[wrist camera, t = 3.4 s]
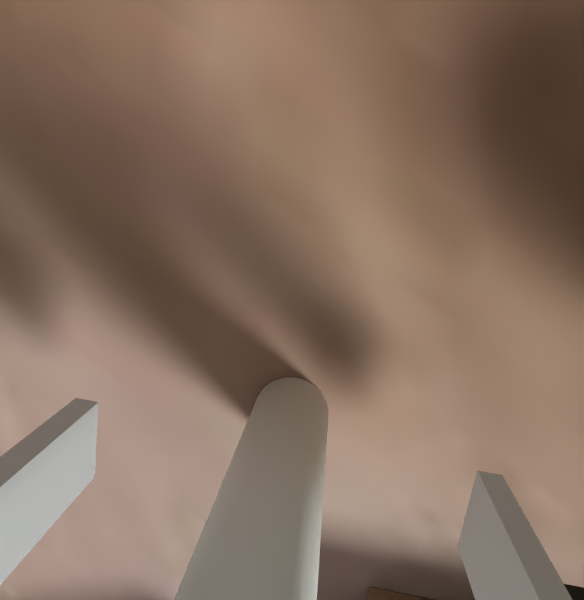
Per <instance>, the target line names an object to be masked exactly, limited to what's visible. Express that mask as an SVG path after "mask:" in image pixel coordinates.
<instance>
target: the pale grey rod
mask: <svg viewBox="0 0 584 600" xmlns="http://www.w3.org/2000/svg"><path fill="white" fill-rule="evenodd" d="M327 429H328V406H327V402H326V400H325V398H324V396H323V394H322V393H321V392H320V391H319V389H318V388H316V387H315V386H314V385H313V384H311V383H310V382H308V381H306V380H303V379H299V378H293V377H286V378H280V379H277V380H275V381H272V382H271V383H269V384H268V385H266V386H265V387H264V388H263V389H262V391H261V392H260V393H259V395H258V397H257V400H256V402H255V404H254V407H253V409H252V412H251V414H250V417H249V419H248V421H247V424H246V426H245V429H244V431H243V434H242V436H241V438H240V441H239V443H238V446H237V448H236V451H235V453H234V455H233V458H232V460H231V463H230V465H229V468H228V470H227V472H226V475H225V477H224V480H223V482H222V485H221V487H220V489H219V492H218V494H217V497H216V499H215V502H214V504H213V506H212V509H211V511H210V514H209V516H208V519H207V521H206V523H205V526H204V528H203V531H202V533H201V536H200V538H199V541H198V543H197V545H196V548H195V550H194V553H193V555H192V558H191V560H190V562H189V565H188V567H187V570H186V572H185V575H184V577H183V579H182V582H181V584H180V587H179V589H178V592H177V594H176V596H175V599H174V600H317V589H318V573H319V557H320V541H321V525H322V509H323V493H324V477H325V461H326V445H327Z"/></svg>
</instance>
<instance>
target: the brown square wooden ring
mask: <svg viewBox="0 0 584 600" xmlns="http://www.w3.org/2000/svg"><path fill="white" fill-rule="evenodd" d="M366 600H432V599H427V598H422V597H417V596H412V595H406V594H401V593H396V592H391V591H386V590H381V589H376V588H371V587H369V590H368V594H367V599H366Z"/></svg>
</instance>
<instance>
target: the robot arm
mask: <svg viewBox="0 0 584 600" xmlns="http://www.w3.org/2000/svg"><path fill="white" fill-rule="evenodd" d="M97 421H98V402H95V401H90V400H84V399H79V398H75V399H74V400H73V401H72V402H70V403H69V404H68V405H66V406H65V407H64V408H63V409H61V410H60V411H59V412H57V413H56V414H55V415H54V416H52V417H51V418H50V419H48V420H47V421H46V422H45V423H43V424H42V425H41V426H39V427H38V428H37V429H36V430H34V431H33V432H32V433H30V434H29V435H28V436H27V437H25V438H24V439H23V440H21V441H20V442H19V443H18V444H16V445H15V446H14V447H12V448H11V449H10V450H9V451H7V452H6V453H5V454H3V455H2V456H1V457H0V585H1V584H2V583H3V581H4V580H5V579H6V578H7V577H8V576H9V575H10V573H11V572H12V571H13V570H14V569H15V568H16V566H17V565H18V564H19V563H20V562H21V561H22V560H23V558H24V557H25V556H26V555H27V554H28V553H29V551H30V550H31V549H32V548H33V547H34V546H35V545H36V543H37V542H38V541H39V540H40V539H41V538H42V537H43V535H44V534H45V533H46V532H47V531H48V530H49V528H50V527H51V526H52V525H53V524H54V523H55V522H56V520H57V519H58V518H59V517H60V516H61V515H62V513H63V512H64V511H65V510H66V509H67V508H68V507H69V505H70V504H71V503H72V502H73V501H74V500H75V499H76V497H77V496H78V495H79V494H80V493H81V492H82V490H83V489H84V488H85V487H86V486H87V485H88V484H89V482H90V481H91V480H92V479H93V478H94V477H95V459H96V440H97ZM458 549H459V552H460V555H461V558H462V561H463V564H464V567H465V570H466V573H467V576H468V579H469V583H470V586H471V589H472V592H473V595H474V598H475V600H584V588H582V587H577V586H572V585H567V584H563V582H562V580H561V578H560V577H559V575H558V573H557V571H556V570H555V568H554V566H553V564H552V562H551V561H550V559H549V557H548V555H547V554H546V552H545V550H544V548H543V546H542V545H541V543H540V541H539V539H538V538H537V536H536V534H535V532H534V530H533V529H532V527H531V525H530V523H529V522H528V520H527V518H526V516H525V514H524V513H523V511H522V509H521V507H520V506H519V504H518V502H517V500H516V499H515V497H514V495H513V493H512V491H511V490H510V488H509V486H508V484H507V483H506V481H505V479H504V477H503V475H498V474H493V473H487V472H482V471H477V474H476V477H475V481H474V485H473V489H472V493H471V497H470V501H469V504H468V508H467V512H466V516H465V520H464V524H463V528H462V531H461V535H460V539H459V543H458Z"/></svg>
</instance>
